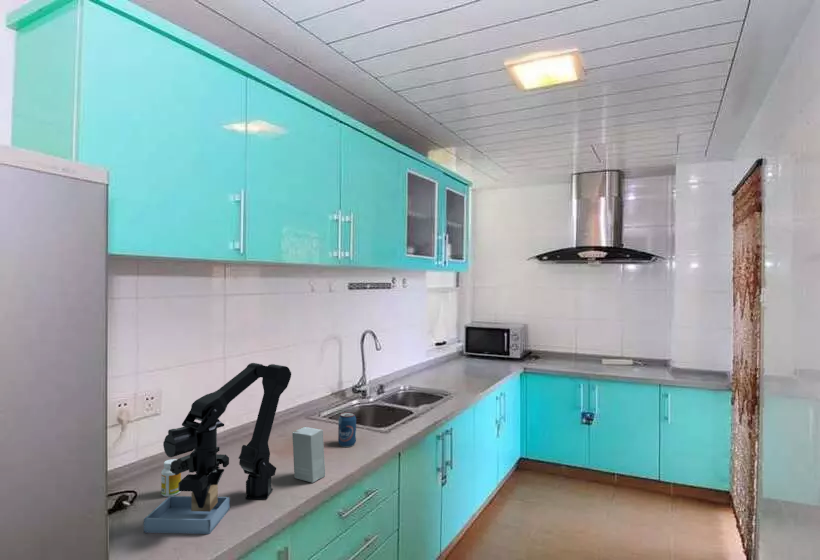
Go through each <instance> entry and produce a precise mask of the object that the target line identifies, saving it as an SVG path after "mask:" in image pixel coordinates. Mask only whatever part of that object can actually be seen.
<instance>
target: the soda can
mask: <svg viewBox="0 0 820 560" xmlns="http://www.w3.org/2000/svg"><path fill="white" fill-rule="evenodd" d="M337 422H338V424H337V425H338V428H337V429H338V431H337V432H338V434H337V435H338V437H337V443H338V444H339V446H340V447H342V448H350V447H351V448H352V447H354V446H355V444H356V442H357V416H356V413H354V412H352V411H351V412H349V411H347V412H342V413H340V414H339V417H338V421H337Z"/></svg>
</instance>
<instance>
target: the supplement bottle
mask: <svg viewBox="0 0 820 560" xmlns="http://www.w3.org/2000/svg"><path fill="white" fill-rule="evenodd" d="M177 459H178V458H173V459H172V458H171V459H167V460H165V461H164V462H163V469H162V470H161V472H160V474H161V475H160V476H161V482H160V484H161V485H160V487H161V488H160V490H161V491H160V493H161V496H162V497H165V498H168V497H169V496H178V494H180V493H181V492H182V491H179V490H178V483H179V482H180V481H181V480H182V473H179V474H178V475H175V474H174V473H172V472H171V471H170V469H171V466H170V465H171V462H173V461H174V460H177Z"/></svg>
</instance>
